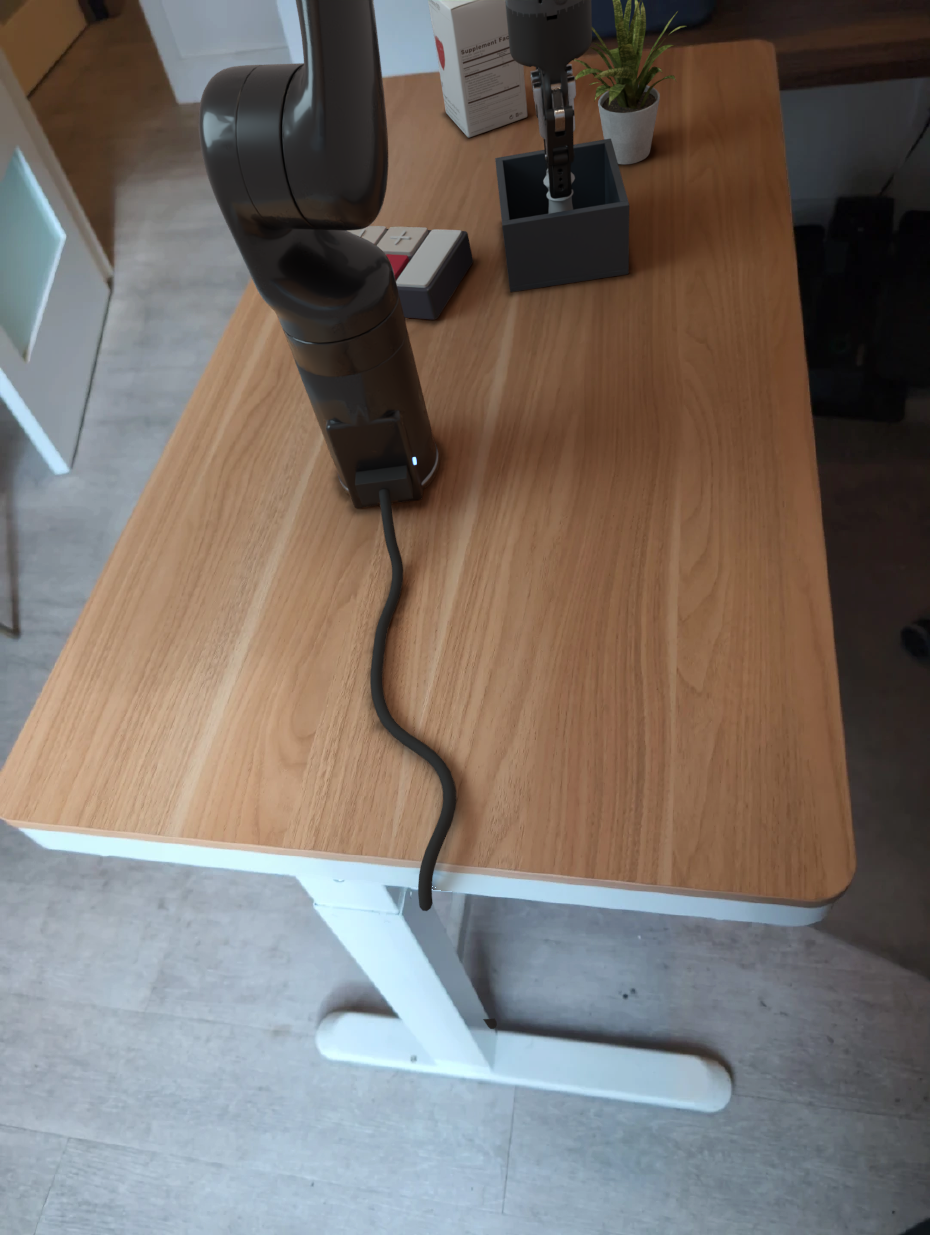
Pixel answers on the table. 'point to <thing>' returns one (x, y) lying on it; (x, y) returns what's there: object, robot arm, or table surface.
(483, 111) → the white product box
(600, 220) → the bin
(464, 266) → the calculator
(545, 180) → the rook chess piece
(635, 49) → the house plant
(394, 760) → the table surface
